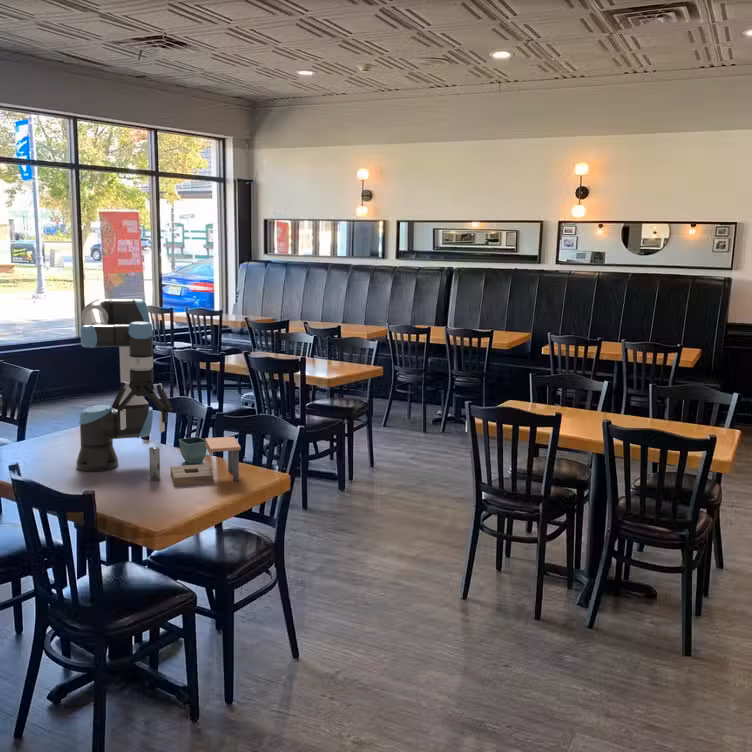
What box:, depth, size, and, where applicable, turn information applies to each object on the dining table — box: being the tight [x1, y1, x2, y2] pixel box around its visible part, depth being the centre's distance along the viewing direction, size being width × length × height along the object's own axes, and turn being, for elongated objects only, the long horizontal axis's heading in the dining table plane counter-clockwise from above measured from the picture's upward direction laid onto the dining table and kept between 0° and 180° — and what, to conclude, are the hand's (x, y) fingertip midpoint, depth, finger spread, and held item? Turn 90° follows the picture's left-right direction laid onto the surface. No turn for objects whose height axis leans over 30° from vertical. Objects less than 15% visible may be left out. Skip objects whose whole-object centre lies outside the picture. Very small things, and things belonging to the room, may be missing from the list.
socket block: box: [170, 463, 214, 487], centre depth 284 cm, size 14×14×3 cm
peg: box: [149, 446, 161, 482], centre depth 280 cm, size 4×4×12 cm
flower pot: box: [178, 436, 208, 465], centre depth 303 cm, size 9×9×9 cm
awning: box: [204, 436, 242, 482], centre depth 287 cm, size 15×11×13 cm
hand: (142, 430), depth 257 cm, fingers open, 13 cm apart
